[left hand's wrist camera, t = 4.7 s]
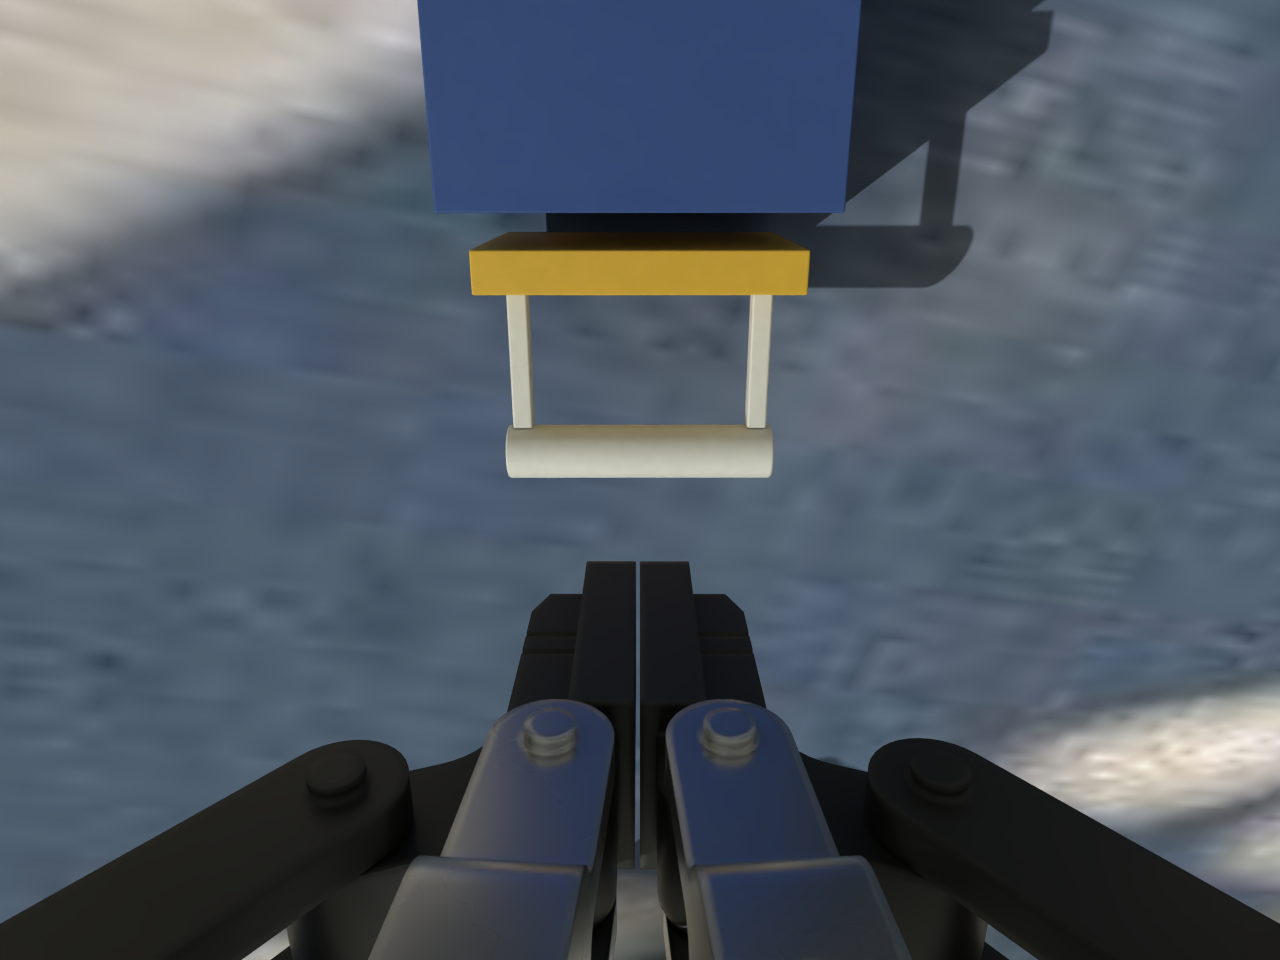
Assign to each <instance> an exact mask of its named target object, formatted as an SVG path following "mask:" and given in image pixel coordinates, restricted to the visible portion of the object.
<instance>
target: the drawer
mask: <svg viewBox="0 0 1280 960" xmlns="http://www.w3.org/2000/svg"><path fill="white" fill-rule="evenodd" d="M469 257H470V271H471V286H472V294H473V295H506V297H507V316H508V334H509V352H510V370H511V389H512V407H513V425H510V426H509V428H508V431H507V437H506V464H507V471H508V474H509V476H510V477H511V478H705V477H770V476H771V473H772V469H773V460H774V441H773V432H772V429H771V426H770V425H766V418H767V399H768V381H769V362H770V344H771V325H772V307H773V295H807V293H808V279H809V264H810V250H808V249H806V248H804V247H802V246H800V245H797V244H795V243H793V242H791V241H789V240H787V239H785V238H783V237H780V236H778V235H776V234H774V233H772V232H508V233H505V234H503V235H501V236H499V237H497V238H495V239H493V240H491V241H489V242H486V243H484V244H482V245H480V246H478V247H476V248H474V249H472V250H470V251H469ZM529 295H751V297H750V320H749V342H748V364H747V387H746V409H745V423H746V425H534V422H535V418H534V396H533V374H532V352H531V330H530V308H529Z"/></svg>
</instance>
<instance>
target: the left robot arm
mask: <svg viewBox="0 0 1280 960" xmlns="http://www.w3.org/2000/svg"><path fill="white" fill-rule="evenodd" d="M635 741H636V561H587V565H586V572H585V579H584V586H583V594H550V595H549V596H548V597H547V598H546V599H545V600H544V601H543V602H542V603H541V604H540V605H539V606H537V607H536V608H535V609H534V610H533V611H532V613H531V618H530V622H529V626H528V630H527V636H526V638H525V642H524V646H523V654H521V658H520V662H519V666H518V670H517V674H516V678H515V682H514V686H513V690H512V695H511V699H510V703H509V707H508V711H507V713H506V714H504V715H503V716H502V717H500V718H499V719H498V720H497V721H496V722H495V723H494V725H493V726H492V727H491V729H490V731H489V733H488V735H487V738H486V740H485V743H484V746H483V747H481V748H480V749H478V750H476V751H475V752H473V753H471V754H469V755H467V756H464V757H462V758H459V759H457V760H454V761H450V762H447V763H443V764H439V765H434V766H430V767H426V768H421V769H417V770H412V771H409V768H408V764H407V762H406V759H405V758H404V757H403V755H402V754H401V753H400V752H399V751H397V750H396V749H395V748H393V747H391V746H389V745H387V744H383V743H380V742H376V741H369V740H350V741H342V742H336V743H332V744H328V745H324V746H321V747H319V748H316V749H313V750H311V751H309V752H307V753H305V754H303V755H301V756H299V757H297V758H295V759H293V760H292V761H290V762H288V763H286V764H284V765H283V766H281V767H279V768H277V769H275V770H274V771H272V772H270V773H268V774H267V775H265V776H263V777H261V778H259V779H258V780H256V781H254V782H252V783H251V784H249V785H247V786H245V787H243V788H242V789H240V790H238V791H236V792H234V793H233V794H231V795H229V796H227V797H226V798H224V799H222V800H220V801H218V802H217V803H215V804H213V805H211V806H209V807H208V808H206V809H204V810H202V811H201V812H199V813H197V814H195V815H193V816H192V817H190V818H188V819H186V820H185V821H183V822H181V823H179V824H177V825H176V826H174V827H172V828H170V829H168V830H167V831H165V832H163V833H161V834H160V835H158V836H156V837H154V838H152V839H151V840H149V841H147V842H145V843H143V844H142V845H140V846H138V847H136V848H135V849H133V850H131V851H129V852H127V853H126V854H124V855H122V856H120V857H119V858H117V859H115V860H113V861H111V862H110V863H108V864H106V865H104V866H102V867H101V868H99V869H97V870H95V871H94V872H92V873H90V874H88V875H86V876H85V877H83V878H81V879H79V880H77V881H76V882H74V883H72V884H70V885H69V886H67V887H65V888H63V889H61V890H60V891H58V892H56V893H54V894H53V895H51V896H49V897H47V898H45V899H44V900H42V901H40V902H38V903H36V904H35V905H33V906H31V907H29V908H28V909H26V910H24V911H22V912H20V913H19V914H17V915H15V916H13V917H12V918H10V919H8V920H6V921H4V922H3V923H1V924H0V960H242V959H243V958H245V957H246V956H247V955H249V954H250V953H252V952H253V951H254V950H256V949H257V948H259V947H260V946H261V945H263V944H264V943H266V942H267V941H268V940H270V939H271V938H273V937H274V936H275V935H277V934H278V933H280V932H281V931H282V930H284V929H285V928H287V933H288V938H289V943H290V946H289V947H287V948H286V949H285V950H283V951H282V952H281V953H279V954H278V955H277V956H275V957H274V958H273V959H271V960H613V958H614V949H615V941H616V932H617V910H616V887H617V869H634V866H635ZM640 869H657V879H658V897H659V902H660V905H661V908H662V910H663V932H664V941H665V949H666V958H667V960H1009V959H1007V958H1006V957H1005V956H1003V955H1002V954H1001V953H999V952H998V951H997V950H995V949H994V948H993V947H991V946H990V945H988V944H987V943H986V942H985V936H986V931H987V926H988V924H989V925H991V926H992V927H993V928H995V929H996V930H998V931H999V932H1000V933H1002V934H1003V935H1005V936H1006V937H1007V938H1009V939H1010V940H1012V941H1013V942H1014V943H1016V944H1017V945H1019V946H1020V947H1021V948H1023V949H1024V950H1026V951H1027V952H1028V953H1030V954H1031V955H1033V956H1034V957H1035V958H1037V959H1038V960H1280V924H1279V923H1277V922H1276V921H1274V920H1272V919H1270V918H1268V917H1267V916H1265V915H1263V914H1261V913H1260V912H1258V911H1256V910H1254V909H1252V908H1251V907H1249V906H1247V905H1245V904H1243V903H1242V902H1240V901H1238V900H1236V899H1235V898H1233V897H1231V896H1229V895H1227V894H1226V893H1224V892H1222V891H1220V890H1219V889H1217V888H1215V887H1213V886H1211V885H1210V884H1208V883H1206V882H1204V881H1202V880H1201V879H1199V878H1197V877H1195V876H1194V875H1192V874H1190V873H1188V872H1186V871H1185V870H1183V869H1181V868H1179V867H1178V866H1176V865H1174V864H1172V863H1170V862H1169V861H1167V860H1165V859H1163V858H1161V857H1160V856H1158V855H1156V854H1154V853H1153V852H1151V851H1149V850H1147V849H1145V848H1144V847H1142V846H1140V845H1138V844H1136V843H1135V842H1133V841H1131V840H1129V839H1128V838H1126V837H1124V836H1122V835H1120V834H1119V833H1117V832H1115V831H1113V830H1112V829H1110V828H1108V827H1106V826H1104V825H1103V824H1101V823H1099V822H1097V821H1095V820H1094V819H1092V818H1090V817H1088V816H1087V815H1085V814H1083V813H1081V812H1079V811H1078V810H1076V809H1074V808H1072V807H1070V806H1069V805H1067V804H1065V803H1063V802H1062V801H1060V800H1058V799H1056V798H1054V797H1053V796H1051V795H1049V794H1047V793H1046V792H1044V791H1042V790H1040V789H1038V788H1037V787H1035V786H1033V785H1031V784H1029V783H1028V782H1026V781H1024V780H1022V779H1021V778H1019V777H1017V776H1015V775H1013V774H1012V773H1010V772H1008V771H1006V770H1004V769H1003V768H1001V767H999V766H997V765H996V764H994V763H992V762H990V761H988V760H987V759H985V758H983V757H981V756H980V755H978V754H976V753H974V752H972V751H970V750H968V749H966V748H963V747H960V746H958V745H955V744H952V743H948V742H944V741H940V740H934V739H924V738H910V739H903V740H897V741H894V742H891V743H888V744H886V745H885V746H883V747H881V748H880V749H879V750H877V751H876V752H875V753H874V755H873V756H872V757H871V760H870V762H869V765H868V772H865V771H861V770H856V769H852V768H847V767H843V766H838V765H834V764H830V763H826V762H823V761H819V760H817V759H814V758H811V757H809V756H807V755H805V754H803V753H801V752H799V751H798V748H797V746H796V743H795V740H794V738H793V735H792V733H791V731H790V729H789V727H788V726H787V725H786V723H785V722H784V721H783V720H782V719H781V718H780V717H778V716H777V715H776V714H774V713H773V712H771V711H769V710H768V709H766V704H765V700H764V696H763V692H762V687H761V683H760V679H759V675H758V671H757V666H756V662H755V658H754V654H753V652H752V645H751V641H750V637H749V636H748V628H747V624H746V620H745V616H744V612H743V611H742V610H741V609H740V608H739V607H738V606H737V605H736V604H735V603H734V602H733V601H732V600H731V599H730V598H729V597H727V596H726V595H725V594H693V591H692V583H691V575H690V567H689V562H640Z"/></svg>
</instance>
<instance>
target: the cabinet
mask: <svg viewBox="0 0 1280 960" xmlns="http://www.w3.org/2000/svg"><path fill="white" fill-rule="evenodd" d="M417 2H418V14H419V27H420V39H421V51H422V63H423V76H424V88H425V100H426V113H427V125H428V137H429V150H430V162H431V174H432V187H433V199H434V211H435V212H436V213H843V212H845V205H846V192H847V180H848V168H849V155H850V143H851V130H852V118H853V106H854V93H855V81H856V68H857V56H858V43H859V31H860V19H861V6H862V0H417Z"/></svg>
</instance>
